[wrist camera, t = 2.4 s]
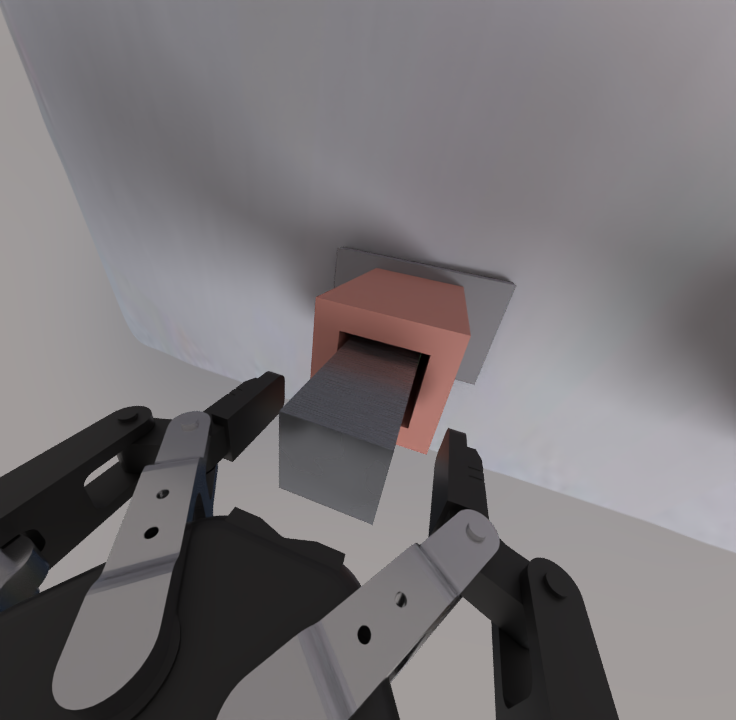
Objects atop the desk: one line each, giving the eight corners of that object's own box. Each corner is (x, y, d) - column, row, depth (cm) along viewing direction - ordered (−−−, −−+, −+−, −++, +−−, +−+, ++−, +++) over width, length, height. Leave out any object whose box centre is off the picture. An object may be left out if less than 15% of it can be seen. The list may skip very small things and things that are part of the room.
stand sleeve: (512, 282, 23) (584, 347, 10) (473, 377, 28) (489, 502, 15) (343, 247, 26) (235, 263, 13) (333, 338, 31) (246, 416, 18)
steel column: (434, 304, 24) (395, 449, 8) (423, 345, 26) (373, 526, 10) (391, 294, 25) (277, 409, 9) (383, 334, 27) (278, 487, 11)
